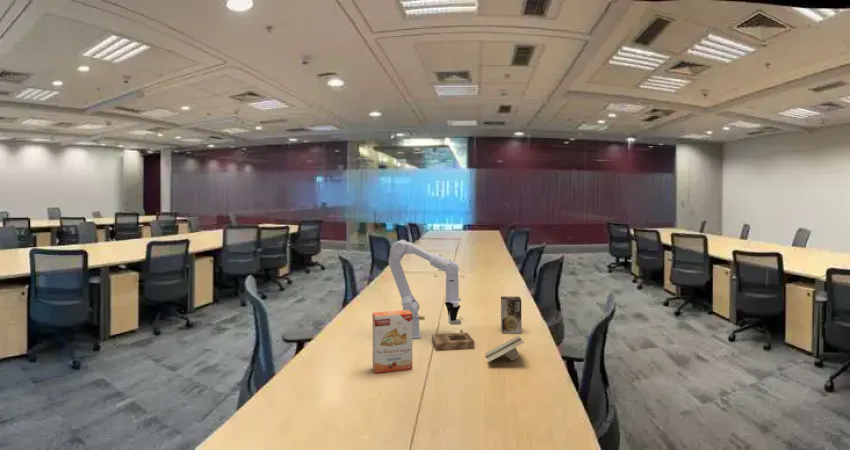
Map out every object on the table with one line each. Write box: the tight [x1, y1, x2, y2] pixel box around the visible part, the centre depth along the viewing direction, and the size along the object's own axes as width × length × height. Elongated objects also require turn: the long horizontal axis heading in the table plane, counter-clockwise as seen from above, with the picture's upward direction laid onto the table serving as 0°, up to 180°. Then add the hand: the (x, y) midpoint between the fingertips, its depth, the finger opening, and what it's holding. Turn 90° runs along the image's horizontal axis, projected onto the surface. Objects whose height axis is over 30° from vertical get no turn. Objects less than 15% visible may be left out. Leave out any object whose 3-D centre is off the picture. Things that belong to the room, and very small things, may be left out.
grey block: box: [448, 312, 462, 326], centre depth 188 cm, size 5×4×6 cm
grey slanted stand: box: [484, 335, 525, 363], centre depth 160 cm, size 16×9×15 cm
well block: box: [431, 332, 476, 352], centre depth 178 cm, size 16×12×3 cm
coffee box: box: [500, 296, 523, 334], centre depth 196 cm, size 9×6×16 cm
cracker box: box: [372, 309, 413, 374], centre depth 152 cm, size 14×6×21 cm, turn 105°
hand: (452, 319), depth 188 cm, fingers closed on grey block, 4 cm apart
